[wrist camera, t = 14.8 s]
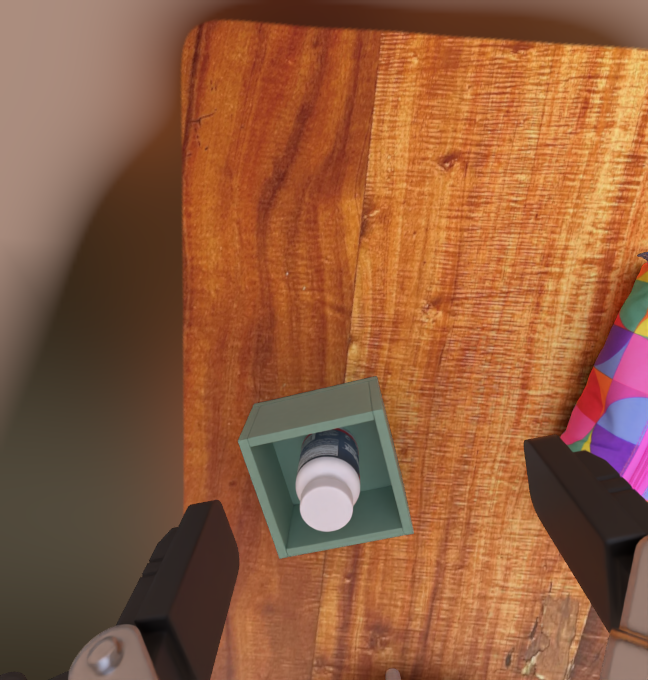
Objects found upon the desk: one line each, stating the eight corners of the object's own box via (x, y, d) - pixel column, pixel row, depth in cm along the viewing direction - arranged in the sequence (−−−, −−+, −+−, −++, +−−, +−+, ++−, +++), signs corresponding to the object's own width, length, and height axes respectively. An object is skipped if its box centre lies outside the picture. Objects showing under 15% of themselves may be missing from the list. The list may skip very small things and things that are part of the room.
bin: (288, 507, 46) (279, 559, 39) (253, 403, 43) (237, 441, 36) (403, 484, 45) (414, 533, 38) (376, 375, 41) (382, 408, 35)
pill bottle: (363, 468, 43) (368, 534, 35) (309, 477, 44) (300, 545, 35) (351, 418, 42) (353, 474, 33) (295, 428, 42) (283, 486, 34)
